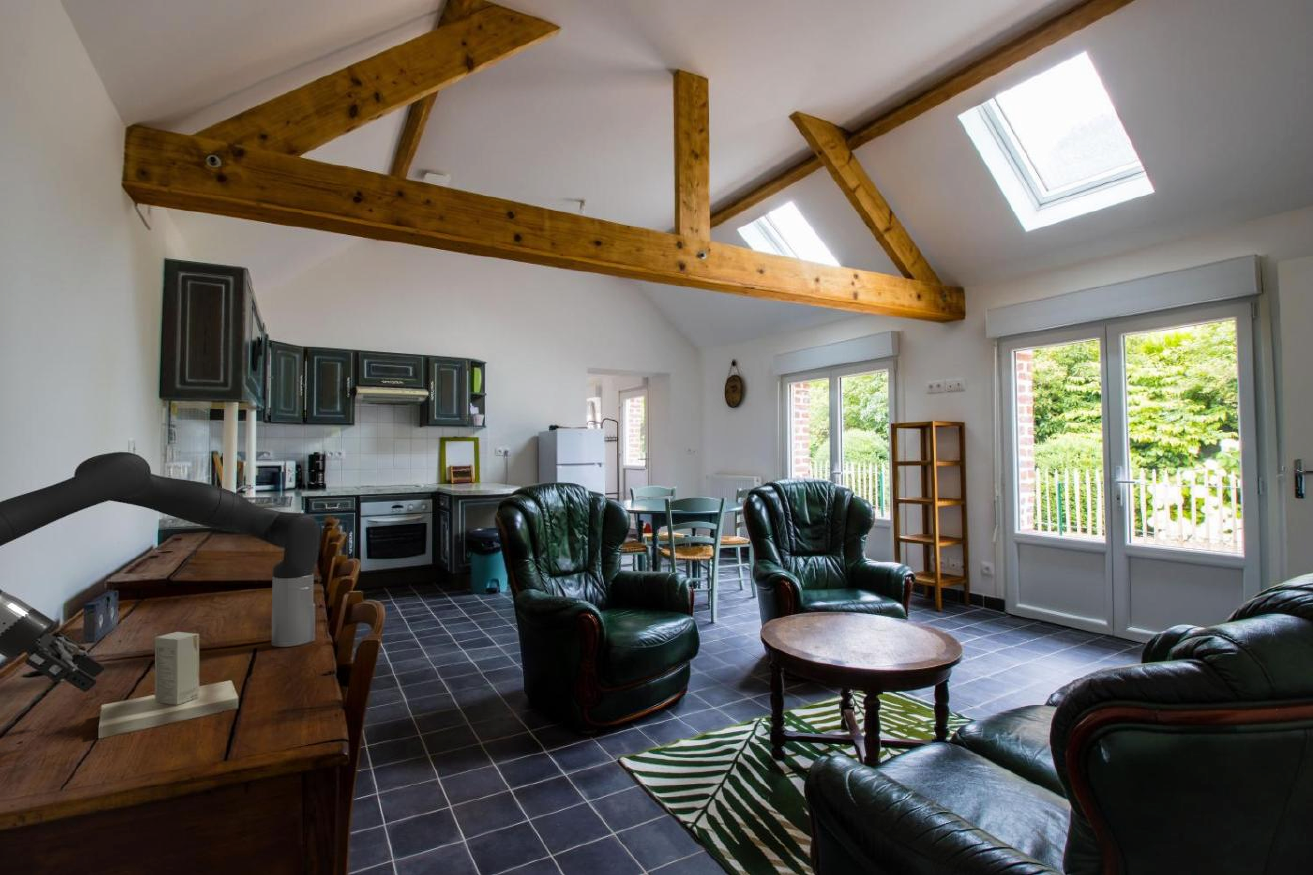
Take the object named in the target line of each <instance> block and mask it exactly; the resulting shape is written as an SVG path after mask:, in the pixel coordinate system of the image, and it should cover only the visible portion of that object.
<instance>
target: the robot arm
mask: <svg viewBox="0 0 1313 875" xmlns="http://www.w3.org/2000/svg"><path fill="white" fill-rule="evenodd" d="M106 502H117V503H123V504H127V505H133V506H138V507H142V508H146V509H149V510H152V511H155V512H157V513H161V514H164V515H167V516H171V517H174V518H176V519H180V520H183V521H186V522H190V523H192V524H195V525H196V524H197V525H198V526H199V525H200V526H203V527H207V528H211V529H215V530H219V531H224V532H230V533H235V534H236V533H237V534H243V535H247V536H250V537H253V538H255V539H258V540H261V541H263V542H266V543H268V544H270V545H271V546H275V547H278V548H280V549H281V548H283V550H284V552H283V558H282V560H281V561H280V562H278V563H275V564H274V566H273V568H272V590H271V591H272V593H271V594H272V595H271V596H272V600H271V602H272V604H271V608H272V609H271V646H273V647H277V648H278V647H279V648H287V647H295V646H300V645H301V646H302V645H304V644H308V643H311V642H314V641H316V636H315V635H316V603H314V587H315V586H314V585H315V584H314V583H315V582H314V581H315V580H314V579H315V577H314V575H315V574H314V573H315V572H314V570H315V567H316V565H317V562H318V559H319V558H318V557H319V545H320V527H319V523H318V521H317V519H316V518H315V516H313V515H311V514H310V513H303V512H289V511H287V512H286V511H278V510H273V509H269V508H265V507H262V506H261V507H260V506H258V505H256V504H254V503H252V502H251V501H250V500H248V499H247V498H245V497H244V496H242V495H241V494H239V493H237V492H235V491H231V490H229V489H226V488H223V487H220V486H217V485H214V484H210V483H207V482H201V481H195V480H189V479H182V478H181V479H180V478H174V477H173V478H172V477H166V476H161V475H158V474H154V473H152V470H151V466H150V463H148V461H147V460H146V459H145V458H143V457H142V456H141V455H139V454H136V453H133V452H130V451H129V452H126V451H115V452H109V453H102V454H99V455H95V456H91V457H90V458H86V459H85V460H84V461H82V462H81V463H79V464H78V465H77V467H76V469H75V471H74V475H73V477H70V478H68V479H65V480H63V481H59V482H57V483H54V484H52V485H49V486H46V487H43V488H39V489H37V490H33V491H30V492H26V493H22V494H19V495H17V496H14V497H11V498H7V499H5V500H2V501H0V547H2V546H4V545H6V544H8V543H10V542H12V541H15V540H17V539H20V538H21V537H24V536H27V535H28V534H30V533H32V532H35V531H36V530H39V529H42V528H43V527H45V526H48V525H49V524H52V523H54V522H56V521H59V520H61V519H63V518H65V517H68V516H71V515H72V514H75V513H77V512H80V511H82V510H86V509H88V508H91V507H93V506H97V505H100V504H103V503H106ZM55 624H56V622H55V620H53V619H52V618H50V617H48V616H47V615H45V614H43V613H42V612H41V611H40V610H37V609H35V608H34V607H33V606H31V605H29V604H28V603H26V602H25V601H23V600H22V599H19V598H18V597H16V596H14V595H12V594H10V593H8V592H6V591H3V590H2V589H1V588H0V655H1V656H3V657H4V658H7V659H9V660H14V659H16V658H18V657H19V656H20V655H22V654H23V653H26V654H27V655H28V656H29V657H27V658H26V659H25V660H24V661H23V662H24V663H25V665H27V666H30V667H31V668H33V669H34V670H35V671H37V672H38V673H41V675H44V676H46V677H47V678H48V679H50V680H52V681H53V682H56V683H59V682H67V683H69V684H70V685H72V686H74V687H76V688H77V689H78V690H80V691H82V692H83V693H85V692H89V690H91V689H92V688H93V687H94V686H95V685H96V684H97V682H98V680H97V679H96V678H97V676H99V675H100V674H101V673H102V672H103V671H104V670H105V669H106V668H105V667H106V666H105V665H104V664H102V663H100V662H99V661H97V660H96V659H94V658H92V657H91V656H89V655H88V652H87V648H86V646H83V645H81V644H79V643H78V642H76V641H74V640H73V639H72V638H70V637H68V636H66V635H65V634H63V633H62V632H61V631H58V630H56V631H54V632H53V633H52V634H50V633H48V632H49V631H50V630H51V629H52V628H53V627H54V626H55Z"/></svg>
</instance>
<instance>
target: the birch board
mask: <svg viewBox="0 0 1313 875" xmlns="http://www.w3.org/2000/svg"><path fill="white" fill-rule="evenodd" d="M237 709H239V696H238V693H237V691H236V689H235V686H234V683H233V681H232V680H226V681H220V682H214V683H209V684H205V685H199V697H198V698H195V699H192V700H190V701H187V702H184V703H181V704H178V705H173V704H166V703H160V702H155V694H153V695H147V696H143V697H136V698H132V699H125V700H122V701H121V700H120V701H115V702H110V703H104V704H101V706H100V715H99V724H98V739H102V738H108V737H113V736H117V735H118V736H119V735H123V734H127V733H130V732H132V733H133V732H134V731H135V732H136V731H140V730H145V729H149V728H153V727H158V726H163V725H167V724H172V723H173V724H174V723H178V722H181V721H187V720H191V719H195V718H200V717H204V716H209V715H214V713H215V714H219V713H224V712H228V711H227V710H229V711H232V710H237ZM223 711H224V712H223Z"/></svg>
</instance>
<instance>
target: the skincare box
mask: <svg viewBox="0 0 1313 875" xmlns="http://www.w3.org/2000/svg"><path fill="white" fill-rule="evenodd" d="M199 686H200V633H193V632H184V631H175V632H171V633H166V634H163V635H160V636H155V637H154V695H155V702H160V703H166V704H173V705H178V704H181V703H184V702H187V701H190V700H192V699H195V698H198V697H199Z"/></svg>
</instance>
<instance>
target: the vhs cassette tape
mask: <svg viewBox="0 0 1313 875" xmlns="http://www.w3.org/2000/svg"><path fill="white" fill-rule="evenodd" d="M118 618H119V590H108V591H107V592H104V593H102V594H101V595H100V596H97V597H96V598H93V599H92V600H91V601H89V602H87V603H85V604H83V625H82V626H83V634H82V640H83V641H82V642H83V643H85V644H93V643H97V642H98V641H99V640H101V639H102V638H103V637H104V636H106V635H107V634H109V632H111V631H112V630H114V629H116V627H117V626H119V619H118Z"/></svg>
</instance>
